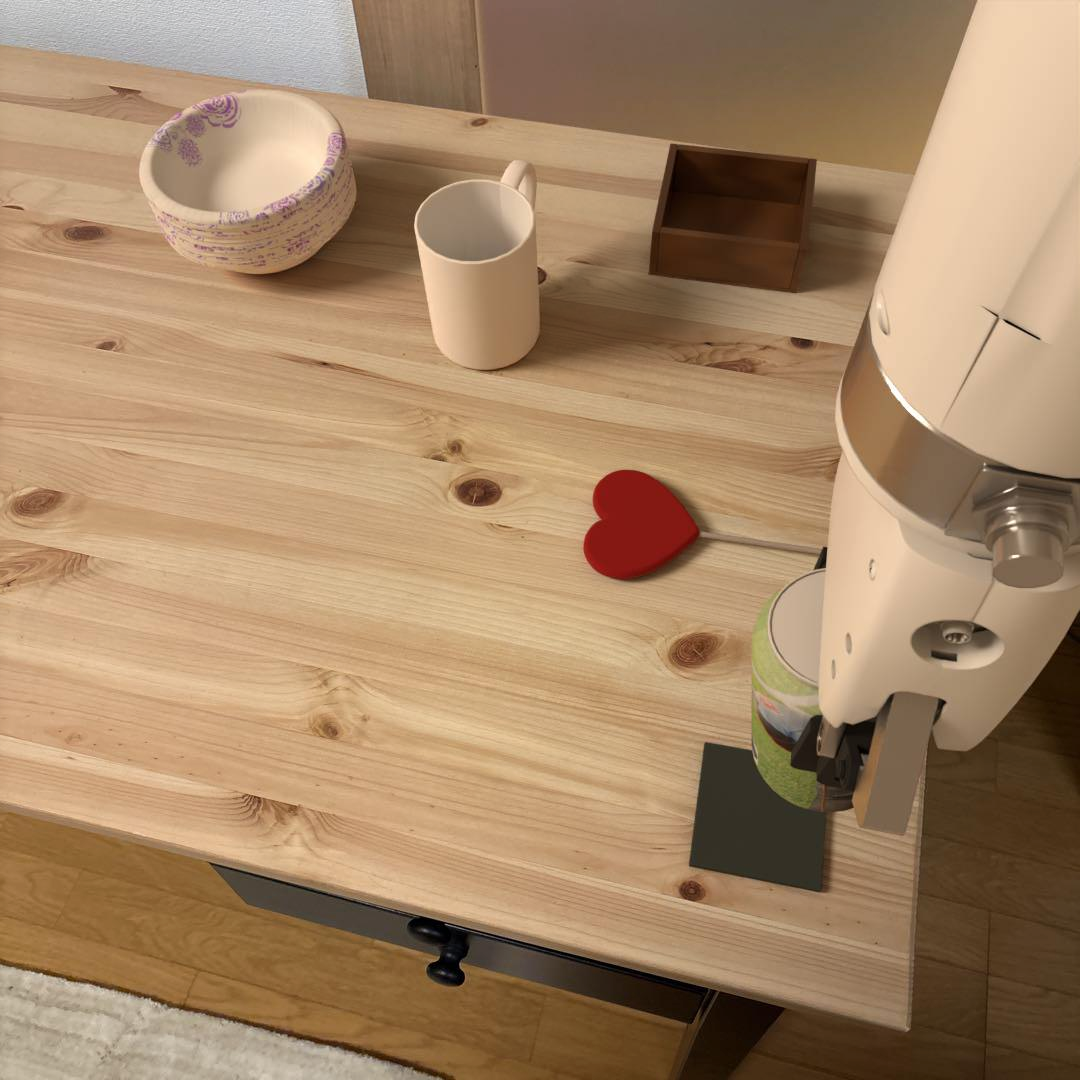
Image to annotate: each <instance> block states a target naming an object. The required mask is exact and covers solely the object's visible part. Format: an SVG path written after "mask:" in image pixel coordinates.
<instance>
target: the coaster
mask: <svg viewBox="0 0 1080 1080" xmlns="http://www.w3.org/2000/svg"><path fill="white" fill-rule="evenodd" d="M702 750H703V751H702V757H701V758H702V759H701V767H700V773H699V782H698V789H697V798H696V806H695V814H694V822H693V830H692V838H691V846H690V851H689V852H690V853H689V859H688V860H689V861H688V867H689V868H691V867H692V868H696V869H700V870H706V871H711V872H715V873H721V874H725V875H731V876H735V877H736V876H737V877H740V878H746V879H751V880H755V881H760V882H766V883H771V884H775V885H781V886H785V887H791V888H794V889H795V888H796V889H801V890H805V891H809V892H816V893H821V892H822V885H823V869H824V853H825V837H826V836H825V835H826V822H827V821H826V820H827V812H818V811H813V810H808V809H805V808H802V807H799V806H797V805H794V804H793V803H791V802H789V801H787V800H786V799H784V798H782V797H781V796H780V795H779V794H777V793H776V792H775V791H774V790H773V789H772V788H771V787H770V786H769V785H768V784H767V783H766V781H765V780H764V778H763V777H762V775H761V774H760V772H759V770H758V768H757V766H756V763H755V761H754V757H753V752H752V749H745V748H740V747H735V746H730V745H724V744H718V743H715V742H714V743H713V742H708V741H705V742H704V744H703V749H702Z"/></svg>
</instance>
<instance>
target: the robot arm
mask: <svg viewBox="0 0 1080 1080" xmlns="http://www.w3.org/2000/svg"><path fill="white" fill-rule="evenodd" d="M942 95H943V96H942V98H941V101H940V103H939V107H938V108H937V109H938V110H937V112H936V115H935V117H934V121H933V123H932V126H931V129H930V131H929V134H928V137H927V140H926V143H925V146H924V148H923V151H922V155H921V157H920V159H919V162H918V165H917V167H916V170H915V174H914V177H913V179H912V182H911V184H910V187H909V190H908V193H907V196H906V199H905V202H904V204H903V208H902V210H901V213H900V216H899V219H898V221H897V224H896V226H895V229H894V232H893V236H892V238H891V241H890V243H889V246H888V248H887V251H886V255H885V257H884V260H883V263H882V265H881V268H880V271H879V274H878V277H877V279H876V283H875V285H874V289H873V293H872V295H871V299H870V300H869V303H868V306H867V309H866V311H865V314H864V317H863V321H862V323H861V326H860V328H859V331H858V334H857V336H856V339H855V343H854V344H853V348H852V351H851V353H850V355H849V359H848V362H847V364H846V367H845V369H844V371H843V374H842V376H841V380H840V382H839V386H838V390H837V394H836V399H835V405H834V406H835V407H834V408H835V409H834V423H835V427H836V428H835V429H836V433H837V438H838V443H839V446H840V448H841V450H842V452H841V454H840V457H839V461H838V465H837V468H836V472H835V477H834V483H833V488H832V489H833V490H832V497H831V504H830V505H831V506H830V514H829V525H828V526H829V527H828V538H827V546H823V547H822V548H821V549H822V551H821V553H820V554H819V556H818V558H817V561H816V562H815V565H814V568H813V569H812V571H814V570H817V569H823V568H826V574H825V587H824V603H823V618H822V634H821V651H820V668H819V708H820V710H821V712H822V714H823V715H815V716H813V717H811V718H810V720H809V722H808V723H807V725H806V727H805V729H804V730H803V732H802V734H801V735H800V737H799V739H798V741H797V742H796V744H795V746H794V748H793V749H792V751H791V762H790V766H791V767H793V768H795V769H799V770H805V771H810V772H815V773H817V778H816V780H817V782H819V783H820V784H823V785H826V786H830V787H836V788H841V789H843V790H848V791H854V793H853V798H852V803H853V807H854V808H853V811H854V814H855V817H856V821H857V825H858V827H859V828H860V829H864V830H870V831H875V832H879V833H880V832H881V833H884V834H885V833H886V834H891V835H896V836H901V837H902V836H904V835H905V834H906V832H907V829H908V826H909V821H910V818H911V813H912V811H913V810H912V809H913V805H914V801H915V798H916V794H917V793H916V792H917V788H918V786H919V780H920V777H921V773H922V768H923V765H924V762H925V757H926V753H927V749H928V744H929V741H930V736H931V732H932V735H933V738H934V742H935V746H936V748H937V749H939V750H944V751H945V750H946V751H956V752H968V751H969V750H972V749H973V748H975V747H976V746H977V745H979V744H980V743H981V742H983V741H984V740H985V739H986V738H987V737H988V736H989V735H990V734H991V733H992V731H993V730H994V729H995V728H996V727H997V726H998V725H999V724H1000V723H1001V722H1002V721H1003V720H1004V719H1005V718H1006V716H1007V715H1008V714H1009V712H1010V711H1011V710H1012V709H1013V708H1014V707H1015V706H1016V704H1017V703H1018V702H1019V700H1020V699H1021V698H1022V697H1023V696H1024V694H1025V693H1026V692H1027V691H1028V689H1029V688H1030V687H1031V686H1032V684H1033V683H1034V682H1035V680H1036V679H1037V677H1038V676H1039V675H1040V673H1041V672H1042V671H1043V669H1044V668H1045V667H1046V665H1047V664H1048V663H1049V661H1050V660H1051V658H1052V657H1053V655H1054V654H1055V652H1056V650H1057V649H1058V647H1060V646H1059V645H1061V643H1062V641H1063V640H1064V638H1065V637H1066V635H1067V633H1068V631H1069V630H1070V627H1071V626H1072V624H1073V622H1074V620H1075V619H1076V617H1077V616H1078V613H1079V612H1080V0H976V3H975V6H974V9H973V12H972V14H971V17H970V20H969V23H968V26H967V28H966V31H965V34H964V37H963V39H962V43H961V45H960V48H959V51H958V54H957V57H956V59H955V61H954V65H953V68H952V70H951V73H950V76H949V78H948V81H947V84H946V87H945V90H944V92H943V94H942ZM937 711H938V712H937ZM936 712H937V713H936ZM876 715H877V716H878V717H877V722H871V721H865V720H868V719H871V718H873V717H876Z"/></svg>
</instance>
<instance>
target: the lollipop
mask: <svg viewBox="0 0 1080 1080" xmlns="http://www.w3.org/2000/svg"><path fill="white" fill-rule="evenodd" d="M592 505H593V506H592V507H593V510H594V512H595V513H596V515H597V516H598V517H599V520H598V521H595V522H594V523H593V524H592V525H591V526H590V527H589V529H588V530H587V532H586V533H585V536H584V538H583V539H584V540H583V545H582V546H583V554H584V558H585V559H586V562H587V563H588V564H589V566H590V567H591V568H592V569H593V570H594V571H595V572H596V573H598V574H600V575H602V576H604V577H606V578H611V579H615V580H629V579H630V580H631V579H634V578H639V577H643V576H645V575H648V574H651V573H653V572H655V571H656V570H659V569H660V568H662V567H664V566H665V565H667V564H669V563H670V562H671V561H673V560H675V559H676V558H677V557H679V556H680V555H681V554H682V553H684V552H685V551H686V550H687V549H688V548H689V547H690V546H692V544H694V542H695V541H697V539H698V538H704V539H705V538H706V539H712V540H719V541H726V542H733V543H738V544H739V543H740V544H747V545H754V546H760V547H768V548H773V549H774V548H775V549H781V550H787V551H795V552H801V553H808V554H814V555H815V554H816V555H820V553H821V551H822V549H823V548H819V547H817V548H816V547H811V546H804V545H798V544H790V543H784V542H778V541H771V540H763V539H756V538H750V537H742V536H737V535H730V534H729V535H728V534H723V533H717V532H716V533H715V532H710V531H703V530H700V528H699V527H698V525H697V522H695V520H694V518H693V517H692V515H691V514H690V512H689V511H688V509H687V508H686V506H685V505H684V503H682V501H681V500H680V499H679V498H678V496H676V495H675V494H674V492H673V491H671V489H670V488H668V486H666V484H664V483H662V482H661V481H660V480H658V479H657V478H655V477H653V476H652V475H650V474H648V473H646V472H644V471H641V470H635V469H618V470H615V471H612V472H609V473H607V474H606V475H605V476H603V477H602V478H601V479H600V480H599V481H598V482H597V484H596V485H595V487H594V490H593V493H592Z"/></svg>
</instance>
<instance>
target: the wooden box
mask: <svg viewBox="0 0 1080 1080" xmlns="http://www.w3.org/2000/svg"><path fill="white" fill-rule="evenodd" d="M817 164H818V159H817V158H808V157H803V156H802V157H800V156H794V155H793V156H791V155H782V154H772V153H763V152H757V151H756V152H755V151H754V152H752V151H745V150H736V149H728V148H718V147H708V146H699V145H691V144H680V143H673V142H671V143H670V144H669V148H668V153H667V158H666V162H665V168H664V171H663V172H664V173H663V176H662V182H661V187H660V192H659V196H658V200H657V205H656V210H655V215H654V219H653V225H652V229H651V230H652V231H651V239H650V249H649V250H650V251H649V262H648V275H650V276H658V277H666V278H674V279H681V280H689V281H690V280H691V281H698V282H707V283H714V284H722V285H730V286H738V287H744V288H745V287H746V288H753V289H760V290H761V289H762V290H769V291H776V292H777V291H779V292H784V293H785V292H786V293H793V294H797V293H798V291H799V286H800V282H801V278H802V274H803V271H804V268H805V263H806V259H807V256H808V253H809V245H810V234H811V227H812V226H811V225H812V224H811V223H812V216H813V215H812V214H813V206H814V205H813V204H814V195H815V184H816V175H817Z"/></svg>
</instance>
